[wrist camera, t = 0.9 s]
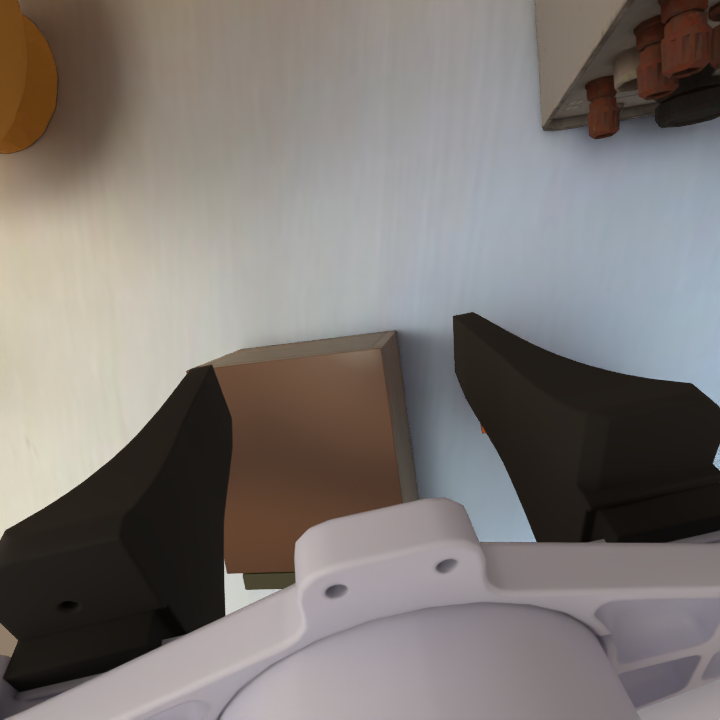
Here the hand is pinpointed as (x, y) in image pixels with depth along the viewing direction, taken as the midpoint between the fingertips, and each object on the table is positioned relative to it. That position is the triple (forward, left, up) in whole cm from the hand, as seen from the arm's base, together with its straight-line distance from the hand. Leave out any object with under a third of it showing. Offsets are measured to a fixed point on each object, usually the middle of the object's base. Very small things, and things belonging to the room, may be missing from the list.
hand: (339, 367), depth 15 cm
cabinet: (-8, +7, -22) cm, 25 cm away
